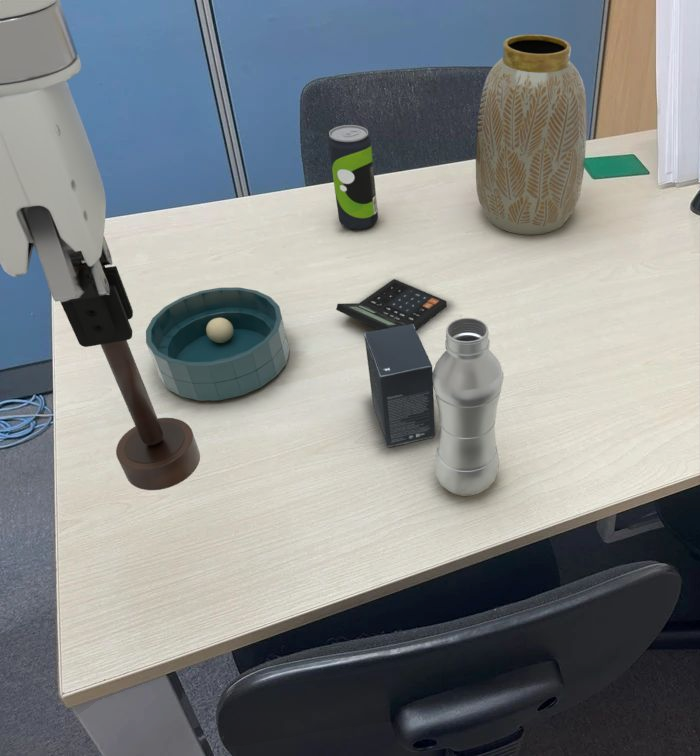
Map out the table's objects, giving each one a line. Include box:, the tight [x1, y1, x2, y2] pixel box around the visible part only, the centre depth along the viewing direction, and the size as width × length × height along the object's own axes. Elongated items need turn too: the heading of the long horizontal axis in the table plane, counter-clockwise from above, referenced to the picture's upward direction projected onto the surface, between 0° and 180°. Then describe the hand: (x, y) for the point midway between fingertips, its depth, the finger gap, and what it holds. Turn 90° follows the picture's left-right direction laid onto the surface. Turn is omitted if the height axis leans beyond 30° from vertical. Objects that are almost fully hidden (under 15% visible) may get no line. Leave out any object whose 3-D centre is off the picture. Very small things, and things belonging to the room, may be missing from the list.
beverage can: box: [327, 124, 379, 232], centre depth 109 cm, size 6×6×15 cm
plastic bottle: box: [432, 317, 504, 497], centre depth 68 cm, size 6×7×20 cm
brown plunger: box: [73, 265, 201, 491], centre depth 51 cm, size 6×6×19 cm
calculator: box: [335, 278, 448, 331], centre depth 95 cm, size 9×12×3 cm
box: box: [363, 324, 436, 448], centre depth 77 cm, size 8×6×11 cm
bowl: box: [145, 286, 290, 402], centre depth 85 cm, size 15×15×6 cm
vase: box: [475, 34, 588, 236], centre depth 109 cm, size 17×17×27 cm
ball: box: [206, 318, 234, 343], centre depth 88 cm, size 3×3×3 cm
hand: (107, 329), depth 48 cm, fingers closed on brown plunger
